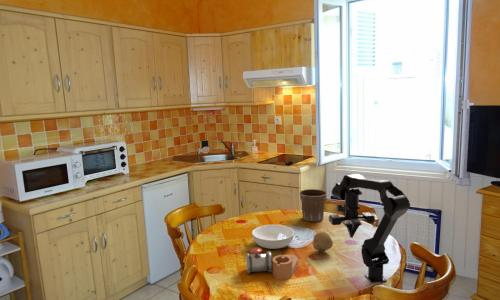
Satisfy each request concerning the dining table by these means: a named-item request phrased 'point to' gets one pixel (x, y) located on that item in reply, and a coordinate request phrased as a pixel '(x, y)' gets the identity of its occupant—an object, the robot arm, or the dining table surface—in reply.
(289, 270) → the brown hollow cylinder
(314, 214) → the plant pot
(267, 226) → the serving bowl
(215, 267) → the dining table surface
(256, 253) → the valve stub
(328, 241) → the natural sponge
